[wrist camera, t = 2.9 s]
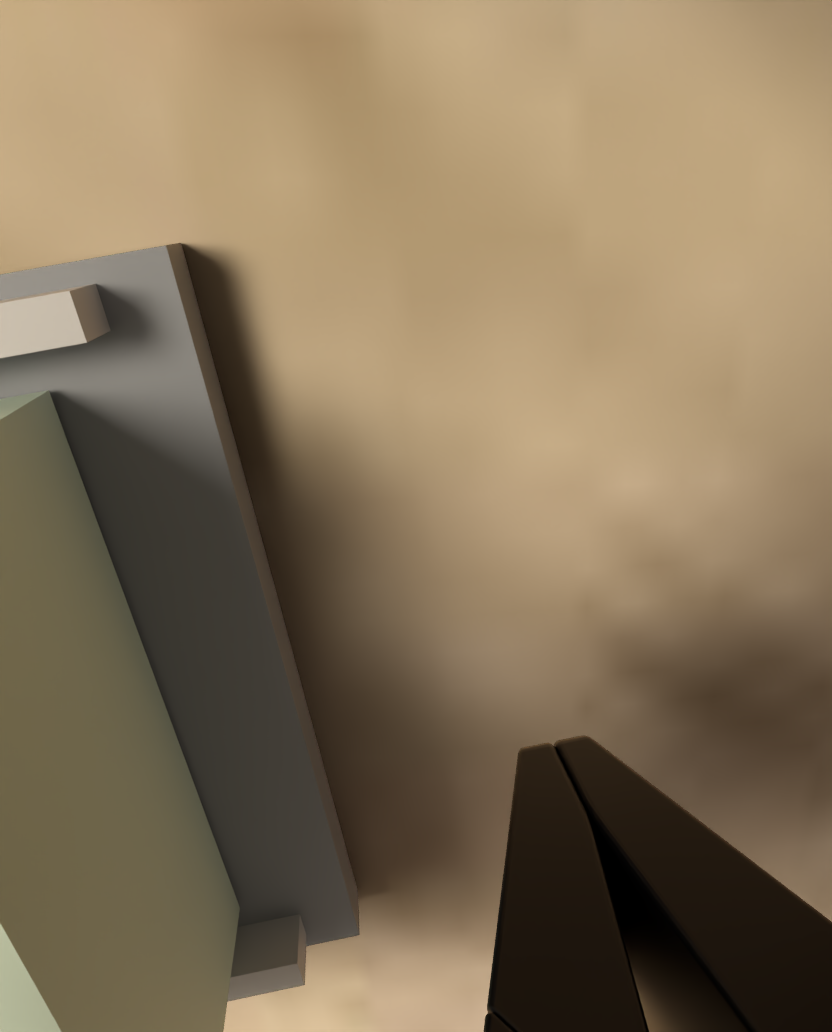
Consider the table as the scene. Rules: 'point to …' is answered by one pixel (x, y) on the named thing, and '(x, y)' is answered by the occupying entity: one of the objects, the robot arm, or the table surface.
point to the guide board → (191, 581)
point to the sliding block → (92, 780)
